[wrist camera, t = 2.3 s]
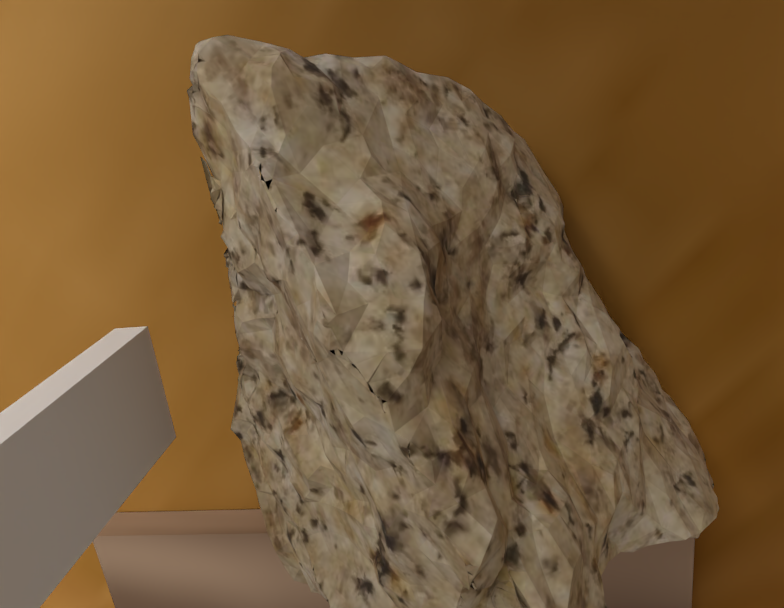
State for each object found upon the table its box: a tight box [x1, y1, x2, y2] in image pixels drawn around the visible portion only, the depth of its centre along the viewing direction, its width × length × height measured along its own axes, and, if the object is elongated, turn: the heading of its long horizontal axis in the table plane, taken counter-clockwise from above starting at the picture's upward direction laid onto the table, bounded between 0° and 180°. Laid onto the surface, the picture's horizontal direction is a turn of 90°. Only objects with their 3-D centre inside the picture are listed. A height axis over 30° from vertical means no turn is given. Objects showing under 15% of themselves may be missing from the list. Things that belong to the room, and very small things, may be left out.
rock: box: [187, 35, 719, 608], centre depth 15 cm, size 11×12×10 cm
